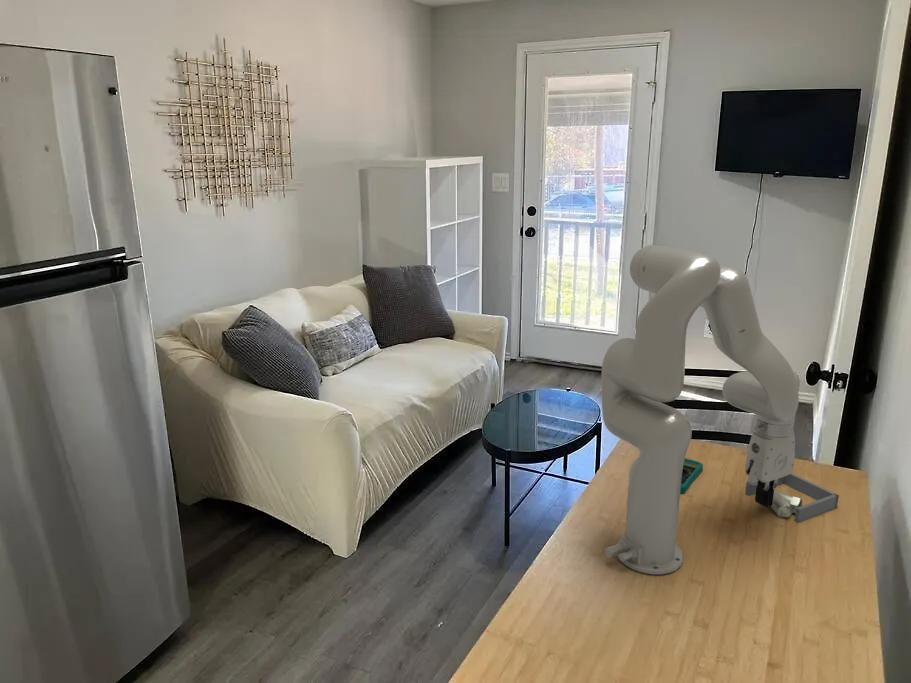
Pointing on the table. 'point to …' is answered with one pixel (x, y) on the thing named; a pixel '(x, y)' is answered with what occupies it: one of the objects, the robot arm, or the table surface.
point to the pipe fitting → (785, 504)
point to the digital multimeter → (689, 473)
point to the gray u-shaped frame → (823, 496)
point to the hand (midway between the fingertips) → (763, 503)
